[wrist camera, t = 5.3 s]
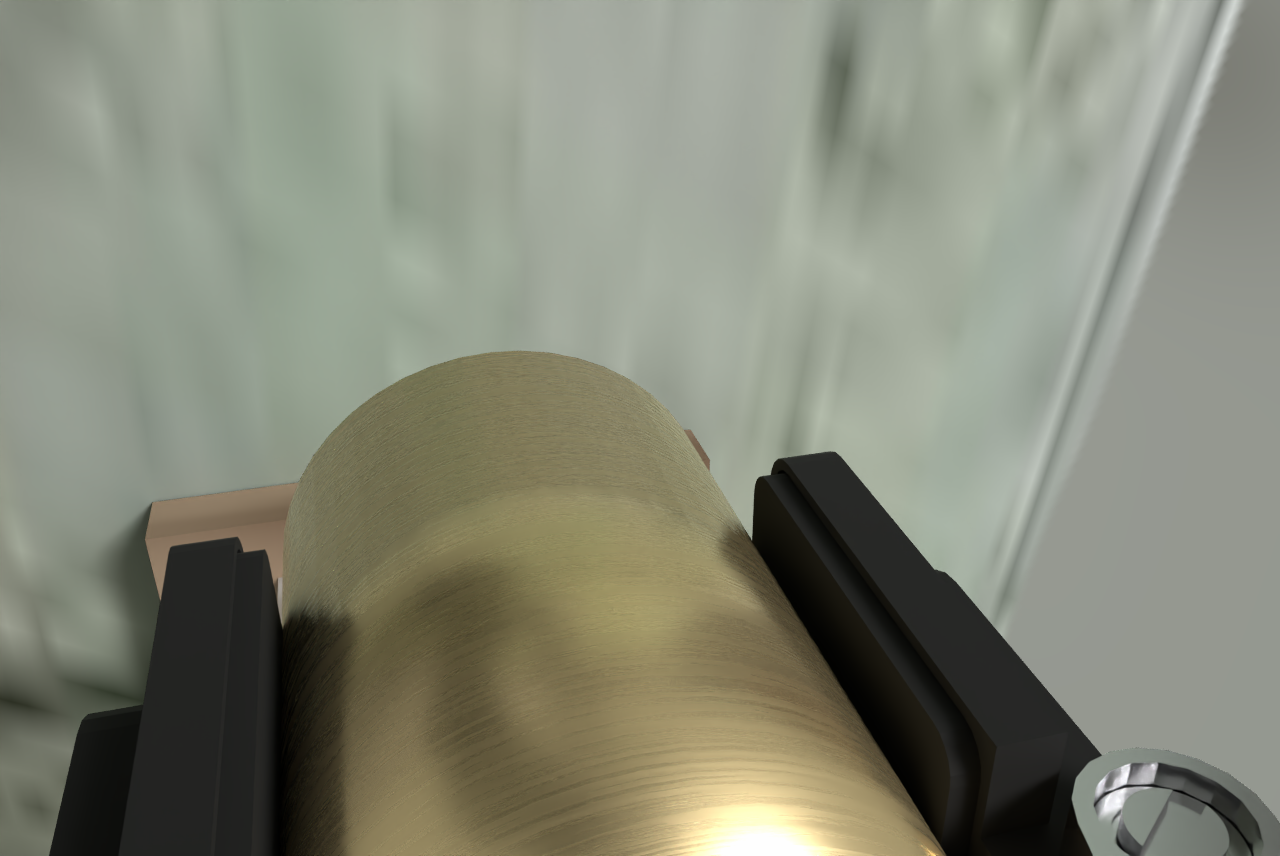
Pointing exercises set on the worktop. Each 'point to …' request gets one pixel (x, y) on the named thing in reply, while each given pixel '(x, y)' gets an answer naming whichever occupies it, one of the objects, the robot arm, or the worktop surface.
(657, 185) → the worktop surface
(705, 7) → the worktop surface
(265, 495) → the fitting board
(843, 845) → the cylinder
